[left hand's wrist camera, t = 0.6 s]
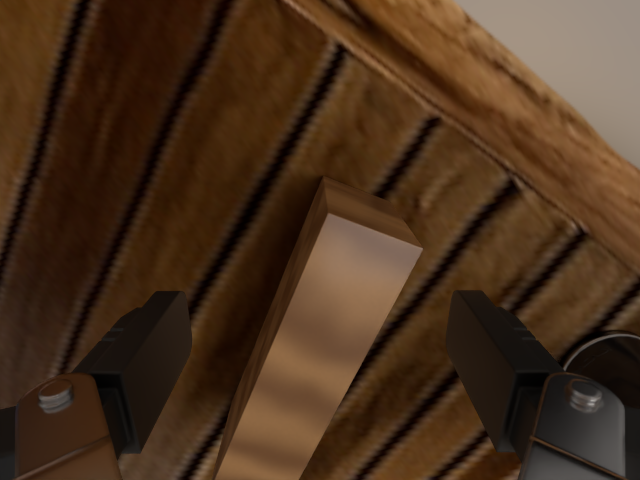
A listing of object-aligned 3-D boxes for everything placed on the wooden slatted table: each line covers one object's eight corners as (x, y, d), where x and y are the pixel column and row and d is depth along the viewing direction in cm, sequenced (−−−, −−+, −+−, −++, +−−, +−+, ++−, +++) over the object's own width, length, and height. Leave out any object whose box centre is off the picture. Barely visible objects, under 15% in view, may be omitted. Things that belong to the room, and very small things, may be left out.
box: (323, 175, 30) (328, 212, 21) (390, 201, 31) (424, 248, 22) (232, 400, 39) (206, 498, 30) (287, 416, 40) (279, 515, 30)
